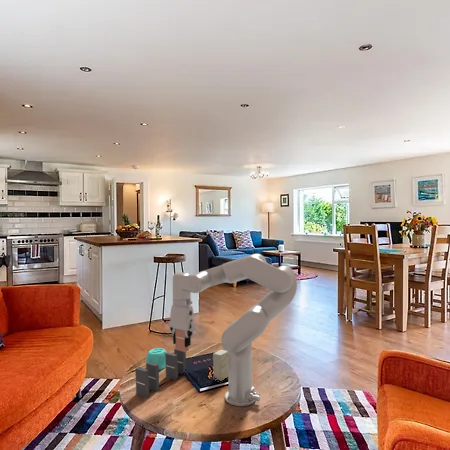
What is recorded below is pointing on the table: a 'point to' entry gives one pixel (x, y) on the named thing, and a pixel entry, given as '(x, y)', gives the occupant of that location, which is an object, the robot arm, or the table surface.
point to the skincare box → (220, 364)
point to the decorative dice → (157, 357)
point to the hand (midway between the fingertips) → (181, 344)
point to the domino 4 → (180, 340)
